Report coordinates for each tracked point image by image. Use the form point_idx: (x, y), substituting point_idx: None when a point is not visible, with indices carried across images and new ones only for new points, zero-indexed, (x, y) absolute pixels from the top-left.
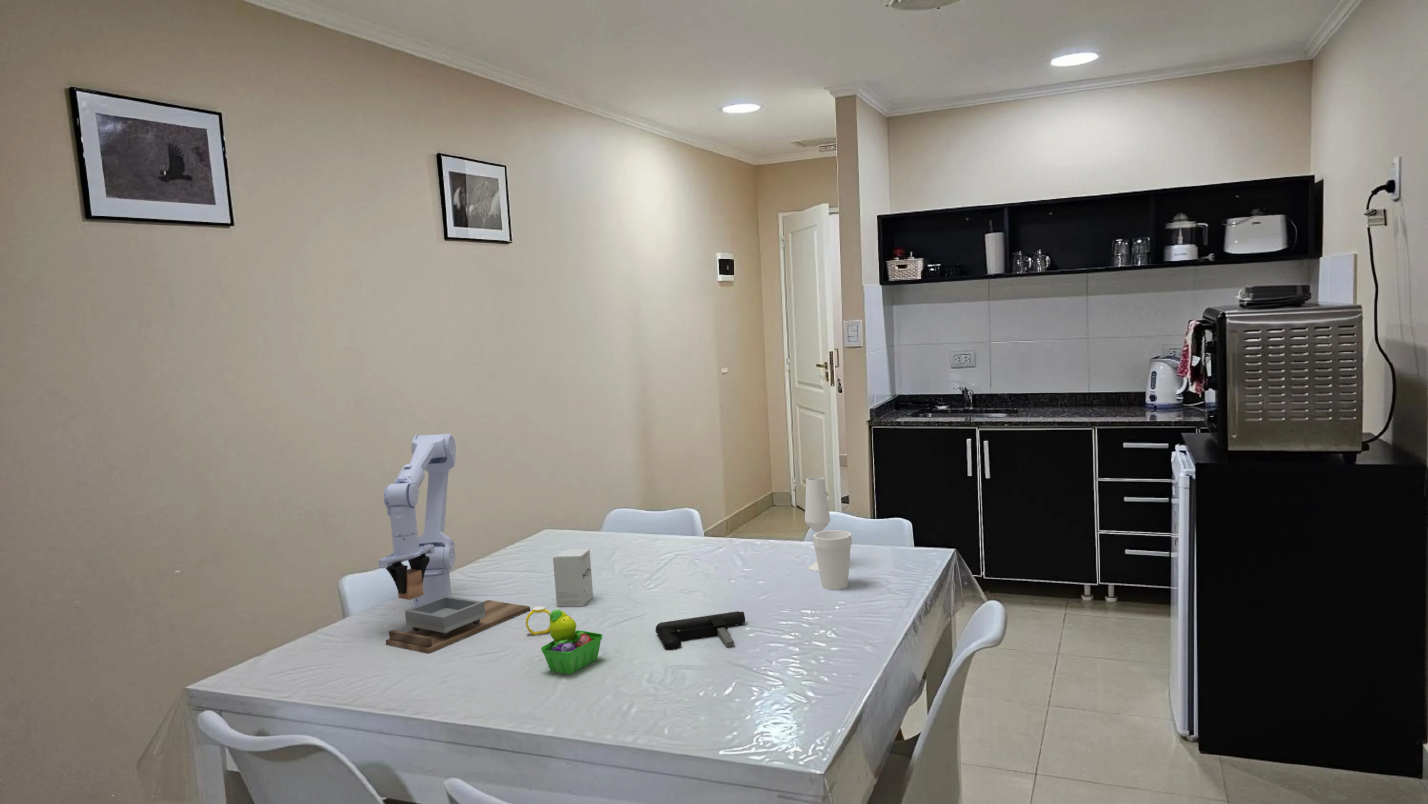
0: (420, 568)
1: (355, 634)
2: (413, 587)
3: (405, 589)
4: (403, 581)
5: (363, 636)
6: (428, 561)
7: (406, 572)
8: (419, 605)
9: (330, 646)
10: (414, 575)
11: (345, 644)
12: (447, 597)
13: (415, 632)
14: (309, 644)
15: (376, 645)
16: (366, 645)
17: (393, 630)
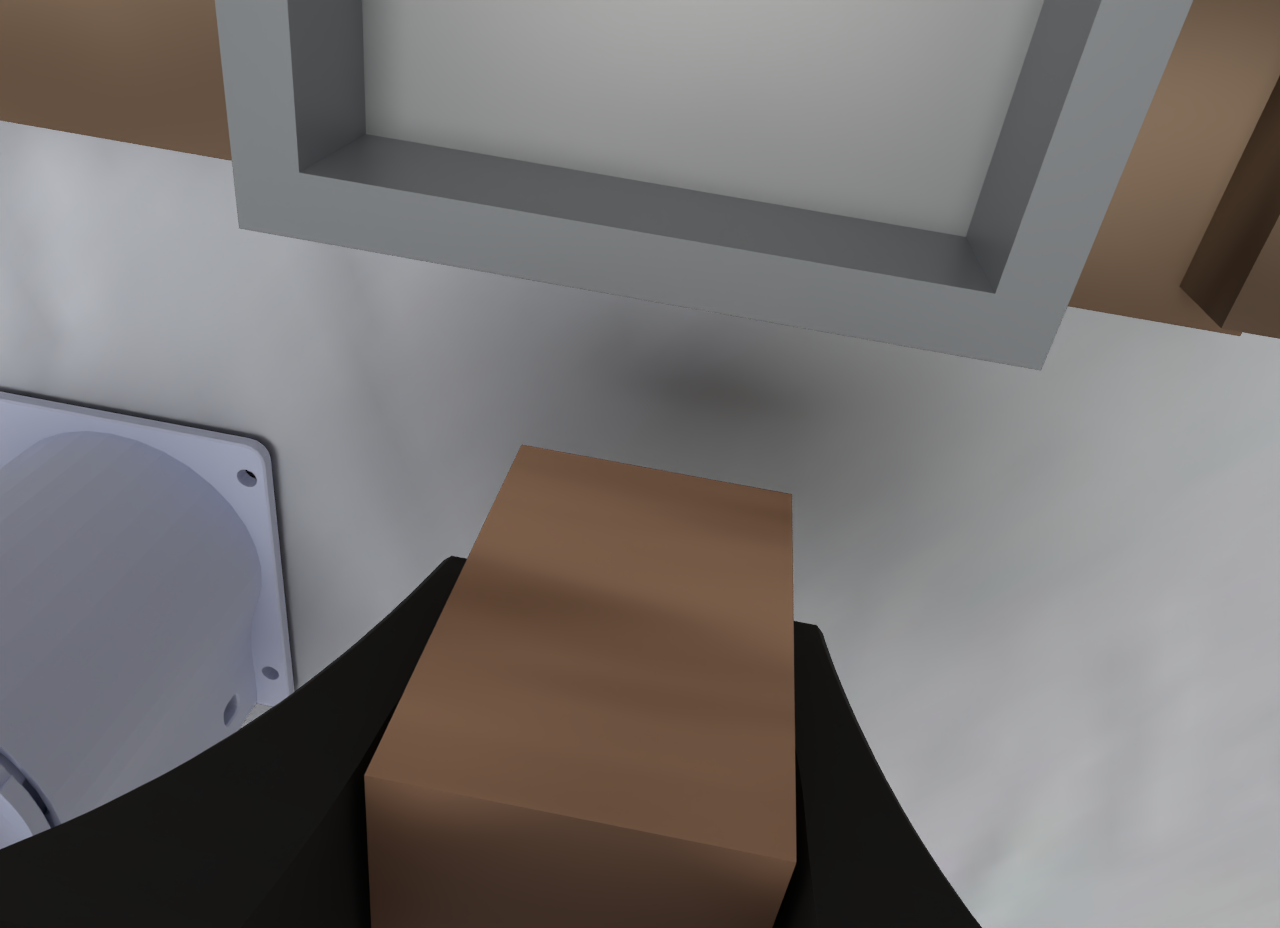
0: (338, 827)
1: (940, 736)
2: (685, 589)
3: (809, 656)
4: (871, 786)
5: (983, 655)
6: (26, 857)
7: (826, 925)
8: (755, 319)
9: (1248, 751)
10: (595, 756)
11: (1200, 675)
12: (286, 132)
13: None
14: (1188, 893)
15: (1249, 393)
16: (1242, 490)
17: (1257, 291)
